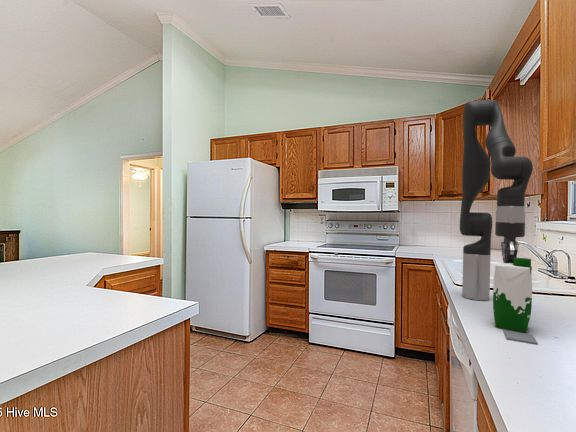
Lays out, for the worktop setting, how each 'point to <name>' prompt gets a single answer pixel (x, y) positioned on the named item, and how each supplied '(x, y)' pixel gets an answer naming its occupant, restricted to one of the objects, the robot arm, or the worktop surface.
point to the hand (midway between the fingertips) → (508, 277)
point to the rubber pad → (520, 337)
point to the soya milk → (513, 295)
